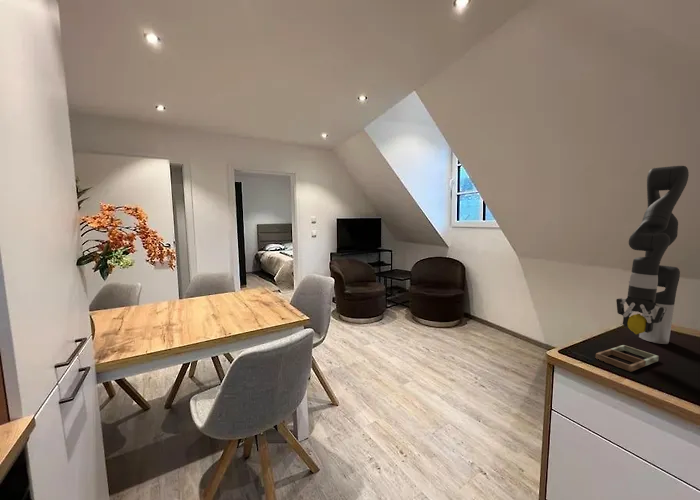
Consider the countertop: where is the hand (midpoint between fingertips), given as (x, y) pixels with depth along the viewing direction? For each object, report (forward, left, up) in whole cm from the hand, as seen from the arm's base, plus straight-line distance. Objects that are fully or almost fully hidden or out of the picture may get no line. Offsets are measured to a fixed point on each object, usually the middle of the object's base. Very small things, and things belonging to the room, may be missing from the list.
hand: (636, 329), depth 113 cm
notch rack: (+5, 0, -11) cm, 12 cm away
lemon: (0, 0, -2) cm, 2 cm away
